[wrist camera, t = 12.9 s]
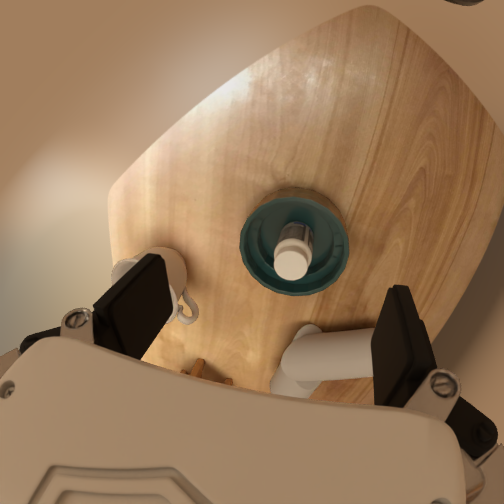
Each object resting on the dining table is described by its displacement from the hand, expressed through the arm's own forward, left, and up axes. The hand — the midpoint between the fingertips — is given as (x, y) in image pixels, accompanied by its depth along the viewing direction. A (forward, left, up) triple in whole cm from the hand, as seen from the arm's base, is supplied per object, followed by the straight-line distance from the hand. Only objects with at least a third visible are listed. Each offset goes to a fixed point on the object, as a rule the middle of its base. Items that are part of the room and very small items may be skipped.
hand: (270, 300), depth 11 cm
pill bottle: (+10, 0, -28) cm, 30 cm away
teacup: (+20, -19, -28) cm, 40 cm away
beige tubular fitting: (+31, +10, -28) cm, 43 cm away
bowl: (+10, 0, -28) cm, 30 cm away
